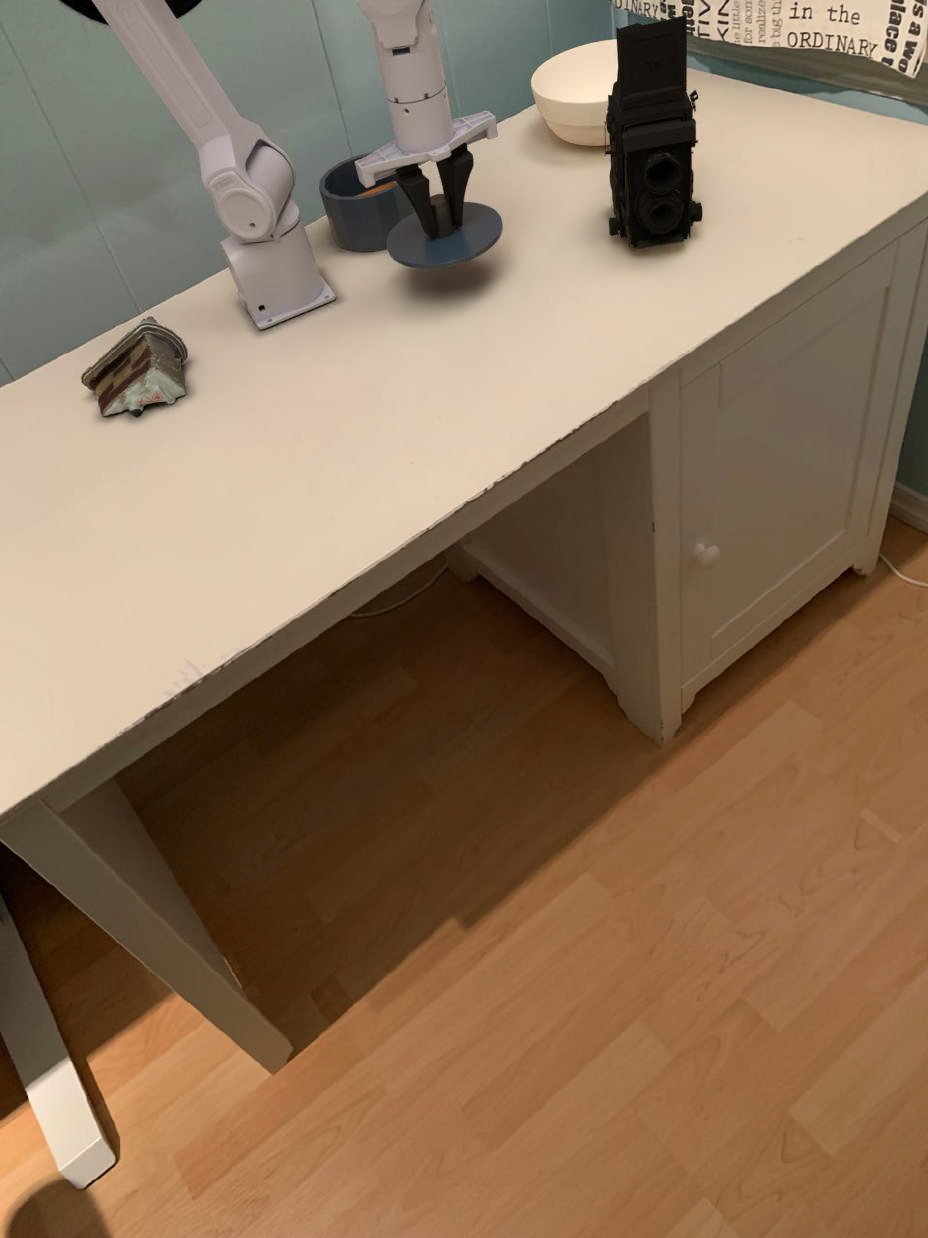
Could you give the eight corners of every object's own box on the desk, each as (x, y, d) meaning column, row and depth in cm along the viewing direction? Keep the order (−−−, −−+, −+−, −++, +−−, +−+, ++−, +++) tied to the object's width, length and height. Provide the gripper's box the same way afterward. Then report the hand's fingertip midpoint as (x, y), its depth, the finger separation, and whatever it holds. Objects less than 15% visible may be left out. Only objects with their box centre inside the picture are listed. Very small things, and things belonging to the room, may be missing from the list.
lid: (415, 288, 89) (405, 245, 85) (371, 239, 96) (361, 198, 93) (524, 243, 91) (519, 199, 87) (472, 198, 98) (466, 157, 95)
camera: (615, 271, 93) (607, 63, 78) (602, 208, 101) (592, 9, 86) (711, 256, 92) (722, 41, 76) (690, 193, 100) (696, -12, 85)
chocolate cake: (84, 436, 92) (123, 359, 84) (75, 384, 95) (112, 305, 87) (172, 451, 98) (216, 380, 91) (161, 402, 101) (203, 329, 93)
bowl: (689, 94, 116) (691, 32, 110) (666, 163, 105) (666, 98, 100) (555, 101, 121) (550, 43, 116) (520, 167, 111) (513, 106, 106)
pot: (353, 263, 104) (337, 210, 99) (322, 225, 111) (306, 174, 106) (439, 227, 105) (428, 173, 100) (403, 193, 112) (391, 141, 107)
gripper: (360, 130, 78) (394, 270, 89) (503, 75, 80) (520, 218, 91) (334, 106, 83) (370, 242, 93) (470, 55, 85) (491, 193, 95)
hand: (442, 228), depth 92 cm, fingers closed on lid, 2 cm apart
